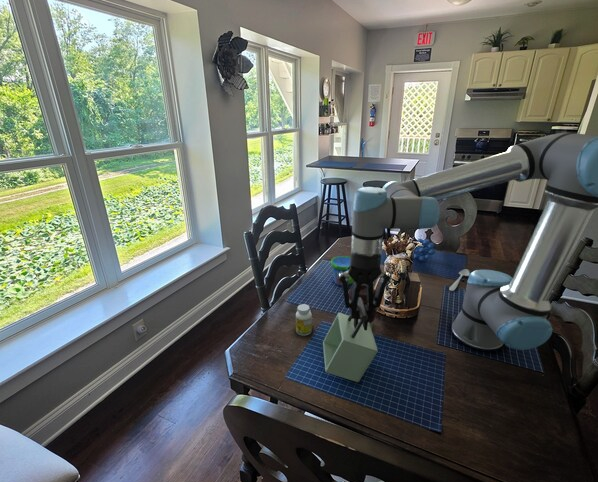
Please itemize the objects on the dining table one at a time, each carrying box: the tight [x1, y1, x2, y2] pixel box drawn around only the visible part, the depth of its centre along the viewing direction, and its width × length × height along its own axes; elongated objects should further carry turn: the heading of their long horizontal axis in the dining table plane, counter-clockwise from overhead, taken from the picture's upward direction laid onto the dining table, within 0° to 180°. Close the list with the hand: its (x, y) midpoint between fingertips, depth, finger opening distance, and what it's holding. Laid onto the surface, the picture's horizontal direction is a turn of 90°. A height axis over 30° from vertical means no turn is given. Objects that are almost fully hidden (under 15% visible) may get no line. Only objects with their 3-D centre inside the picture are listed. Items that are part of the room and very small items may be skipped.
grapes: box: [413, 238, 436, 262], centre depth 154 cm, size 12×7×12 cm, turn 46°
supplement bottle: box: [295, 303, 313, 337], centre depth 107 cm, size 5×5×10 cm
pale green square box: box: [322, 297, 379, 383], centre depth 90 cm, size 20×12×10 cm
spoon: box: [448, 268, 471, 292], centre depth 138 cm, size 4×21×2 cm, turn 138°
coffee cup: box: [348, 284, 378, 330], centre depth 108 cm, size 10×10×15 cm
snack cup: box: [330, 255, 354, 287], centre depth 137 cm, size 16×10×10 cm
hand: (360, 327), depth 89 cm, fingers closed on pale green square box, 2 cm apart
